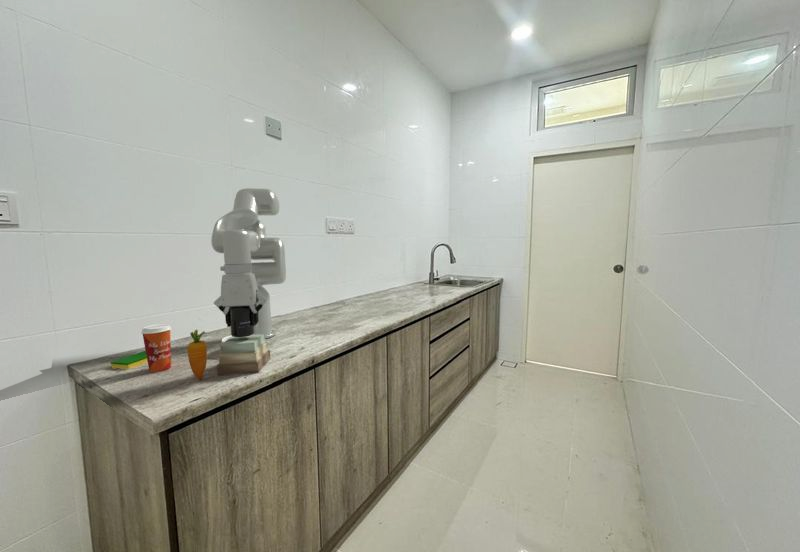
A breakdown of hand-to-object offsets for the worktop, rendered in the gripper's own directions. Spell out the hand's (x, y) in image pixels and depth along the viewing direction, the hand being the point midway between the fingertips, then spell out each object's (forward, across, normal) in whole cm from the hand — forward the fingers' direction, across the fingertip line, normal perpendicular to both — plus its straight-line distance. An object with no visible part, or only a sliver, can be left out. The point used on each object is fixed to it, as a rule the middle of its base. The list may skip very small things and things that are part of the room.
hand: (242, 324), depth 103 cm
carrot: (+14, -10, -9) cm, 19 cm away
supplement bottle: (+3, 0, 0) cm, 3 cm away
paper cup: (+14, -27, +2) cm, 30 cm away
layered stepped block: (+14, 0, 0) cm, 14 cm away
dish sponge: (+14, -39, +11) cm, 43 cm away
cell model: (+14, -9, +17) cm, 24 cm away
